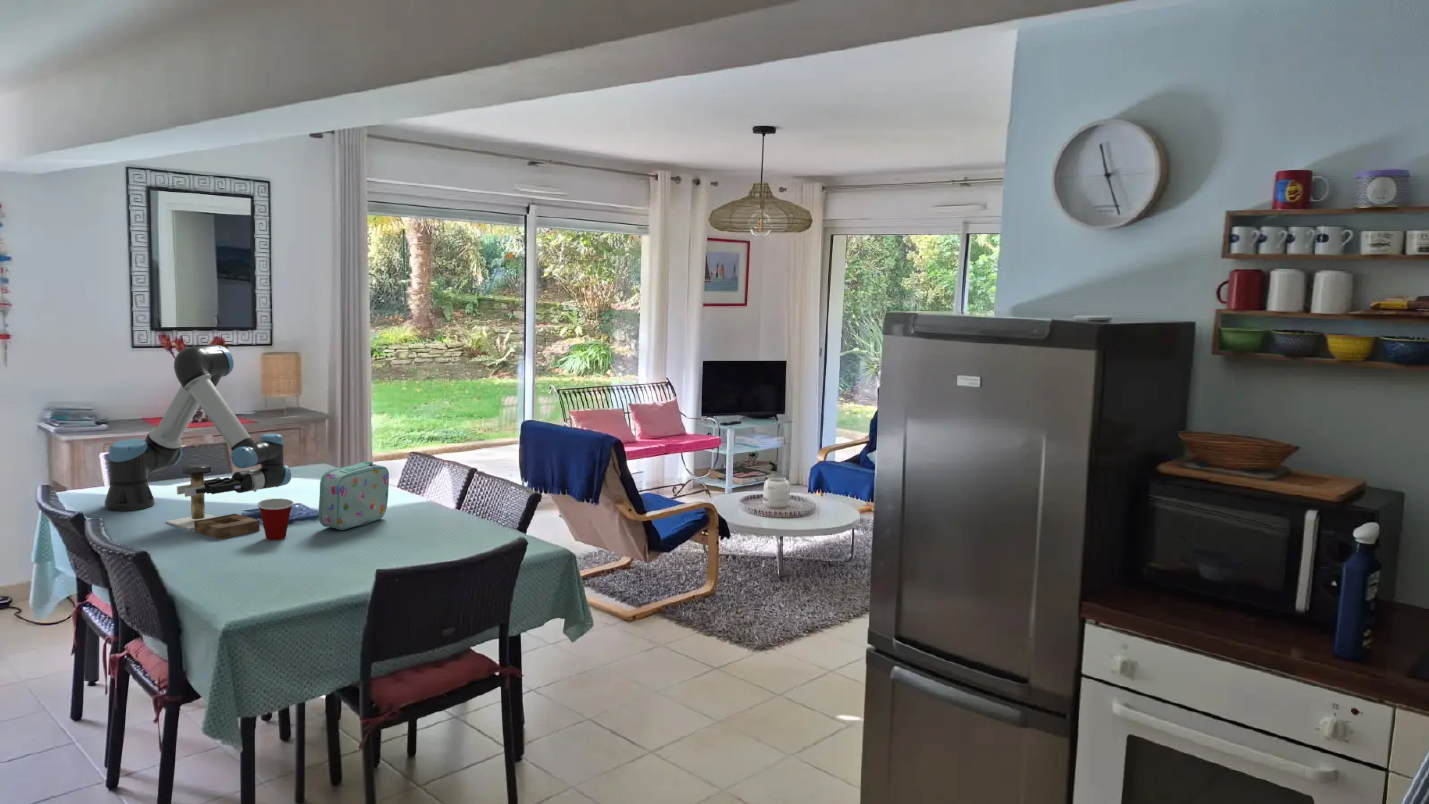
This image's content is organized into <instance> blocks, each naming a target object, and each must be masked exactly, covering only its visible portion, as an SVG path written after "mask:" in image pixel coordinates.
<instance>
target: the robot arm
mask: <svg viewBox="0 0 1429 804" xmlns="http://www.w3.org/2000/svg"><path fill="white" fill-rule="evenodd" d="M234 364H235V363H234V359H233V355H232V353H231V352H230V350H228V348H226V347H225V346H223V345H218V344H209V345H202V346H201V345H200V346H189V347H185V348H184V349H182V350H181V351H179V352H178V353H177V354H176V356H175V358H174V361H173V369H174V374H175V376H176V378H177V381H178V382H179V383H180V387H179V389H178V390H177V393H176V394H175V396H174V397H173V400H172V401H171V403H170V404H169V406H168V408H167V410H166V411H165V413H164V414H163V416H162V418H161V419H160V422H159V423H158V425H157V427H156V428H153V429H151V430H149V432H148V433H147V435H146V437H145V438H144V439H141V438H130V439H123V440H119V441H116V442H114V443H112V444H111V445H110V446H109V448H108V457H107V459H108V469H109V473H108V474H109V488H108V491H107V494H106V496H105V499H104V509H105V510H107V511H108V510H109V511H117V512H118V511H119V512H124V511H125V512H126V511H137V510H143V509H148V508H151V507H153V506H155V498H154V496H153V493H152V490H151V488H150V485H149V477H148V474H149V473H154V472H158V471H159V472H160V471H163V470H167V469H169V468H171V467H173V466H175V465H177V464H178V463H179V462H180V460H181V458H182V457H183V451H182V449H183V447H182V445H183V441H182V439H181V438H182V437H183V435H184V433H185V431H186V430H187V428H188V426H189V424H190V423H191V421H192V419H193V418H194V416H195V414H196V412H197V411H198V409H199V407H200V408H201V409H202V410H203V412H204V413H205V415H206V416H207V418H208V419H209V420H210V422H211V423H212V424H213V426H214V427H215V429H216V431H217V432H218V434H219V435H221V437H222V438H223V441H225V443H226V444H227V445H228V448H229V449H230V450H231V451H232V452H231V455H230V458H231V462H232V464H233V466H235V467H236V468H239V469H247V470H241V471H236V472H233V473H232V476H231V477H224V478H221V477H217V478H211V479H204V485H203V486H197V487H191V483H190V484H185V485H179V486H176V495H178V496H179V495H183V494H184V497H186V498H188V497H191V496H194V495H200V494H204V495H205V494H207V495H208V494H211V495H216V494H223V493H227V492H234V491H235V493H238V494H240V493H241V494H242V493H248V492H251V491H252V492H254V493H256V492H257V490H264V489H271V488H279V487H282V486H286V485H288V484H290V482H291V480H292V472H291V469H290V467H289V466H288V465H286V464H284V446H285V445H284V437H283V435H282V434H279V433H264V434H262V435H261V436H260V437H259V438H260V440H259V442H255V441H254V439H253V438H252V437H251V435H250V434H249V432H248V431H247V430H246V428H245V426H244V425H243V423H242V422H241V421H240V419H238V417H237V415H236V414H235V412H234V411H233V410H232V408H231V407H230V406H229V404H228V402H227V401H226V400H225V399H224V397H223V396H222V394H221V393H220V391H219V390H218V388H217V385H218V383H219V382H220V380H221V378H222V377H226V376H228V375H229V374H231V372H232V371H233V368H234ZM258 465H260V468H254V469H248V468H252V467H254V466H258Z"/></svg>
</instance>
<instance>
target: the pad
mask: <svg viewBox="0 0 1429 804" xmlns="http://www.w3.org/2000/svg"><path fill="white" fill-rule="evenodd" d="M214 517H217V516H215V515H212V514H209V513H205V518H203V519H209V518H214ZM203 519H192V518H191V516H187V517H181V518H174V519H171V520H165V524H169V525H172V526H175V527H178V528H180V529H181V528H182V529H184V530H188V531H191V530H194V521H198V520H203Z"/></svg>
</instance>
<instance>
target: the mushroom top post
mask: <svg viewBox="0 0 1429 804" xmlns="http://www.w3.org/2000/svg"><path fill="white" fill-rule="evenodd" d="M212 472H213V466H212V465H211V464H200V463H199V464H197V463H196V464H189V465H184V466H182V467H181V473H182V474H183V475H190V484H191V487H197V486H203V485H204V480H205V474H209V473H212ZM190 505H191V506H190V507H191V508H190V510H191V511H190V512H191V513H190V517H191V518H192V519H203V518H205V514H206V513H205V512H206V510H205V508H206V507H205V506H206V503H205V494H200V495H194V496H190Z"/></svg>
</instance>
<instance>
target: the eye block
mask: <svg viewBox="0 0 1429 804" xmlns="http://www.w3.org/2000/svg"><path fill="white" fill-rule="evenodd" d="M260 526H261V525H260V520H259V519H256V518H253V517H248V516H245V515H241V514H237V513H232V514H225V515H221V516H216V517H214V518H209V519H203V520H198V521H194V529H193V530H194V532H195V533H197V534H201V535H205V536H208V537H211V538H214V539H218V540H221V539H227V538H231V537H236V536H240V535H246V534H250V533H254V532H259V531H261V530H260Z"/></svg>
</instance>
